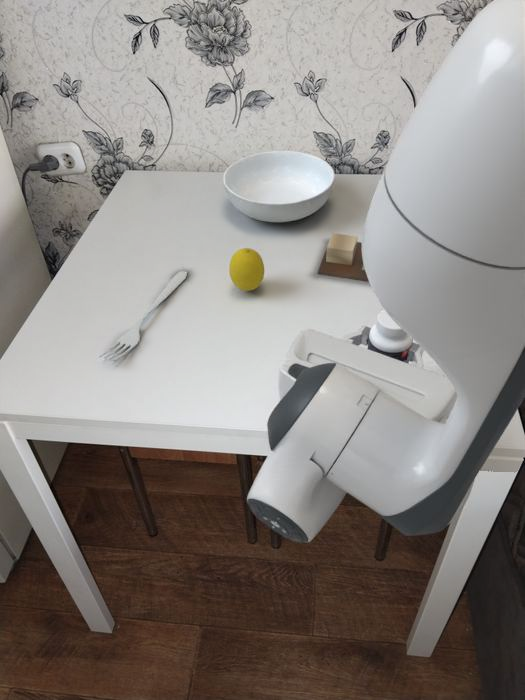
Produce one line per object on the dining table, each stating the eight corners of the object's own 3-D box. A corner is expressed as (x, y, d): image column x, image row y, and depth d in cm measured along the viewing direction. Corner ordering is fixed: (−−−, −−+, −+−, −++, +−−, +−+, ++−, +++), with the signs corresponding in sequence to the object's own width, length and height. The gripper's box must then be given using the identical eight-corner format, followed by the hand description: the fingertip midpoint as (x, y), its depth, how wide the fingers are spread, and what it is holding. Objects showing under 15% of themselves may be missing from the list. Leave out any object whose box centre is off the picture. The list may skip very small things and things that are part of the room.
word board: (445, 256, 101) (448, 238, 98) (440, 292, 94) (444, 274, 92) (330, 241, 105) (331, 223, 103) (317, 273, 99) (318, 256, 96)
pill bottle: (404, 391, 75) (415, 335, 69) (362, 385, 76) (369, 330, 70) (407, 362, 79) (417, 306, 72) (366, 356, 80) (373, 301, 73)
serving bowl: (336, 182, 120) (337, 150, 116) (329, 240, 106) (331, 206, 101) (235, 178, 123) (233, 147, 118) (215, 234, 108) (212, 201, 103)
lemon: (266, 280, 98) (264, 239, 92) (263, 301, 94) (261, 260, 88) (233, 279, 98) (230, 238, 93) (229, 300, 94) (225, 259, 89)
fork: (193, 273, 100) (192, 265, 99) (117, 370, 84) (114, 362, 83) (176, 269, 101) (175, 261, 100) (98, 365, 85) (95, 356, 84)
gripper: (440, 431, 60) (480, 348, 68) (267, 362, 68) (321, 296, 76) (430, 467, 64) (469, 385, 73) (269, 399, 72) (320, 332, 81)
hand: (392, 339), depth 74 cm, fingers closed on pill bottle, 5 cm apart
